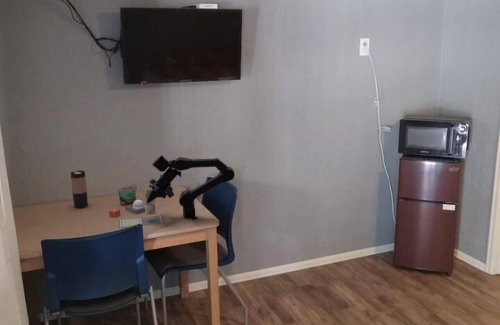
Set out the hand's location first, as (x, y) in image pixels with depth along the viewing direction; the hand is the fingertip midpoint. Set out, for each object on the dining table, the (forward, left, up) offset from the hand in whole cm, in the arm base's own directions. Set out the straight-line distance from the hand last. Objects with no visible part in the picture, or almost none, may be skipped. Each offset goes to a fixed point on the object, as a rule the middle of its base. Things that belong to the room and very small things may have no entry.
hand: (146, 201), depth 238 cm
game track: (+2, +3, -12) cm, 12 cm away
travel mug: (+49, +12, -12) cm, 52 cm away
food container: (+33, -10, -12) cm, 37 cm away
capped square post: (-1, -1, -7) cm, 7 cm away
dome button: (+18, -6, -11) cm, 23 cm away
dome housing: (+18, -6, -12) cm, 23 cm away
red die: (+19, +8, -12) cm, 24 cm away
